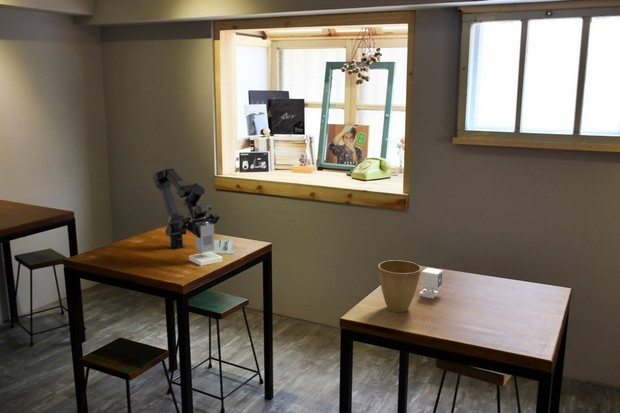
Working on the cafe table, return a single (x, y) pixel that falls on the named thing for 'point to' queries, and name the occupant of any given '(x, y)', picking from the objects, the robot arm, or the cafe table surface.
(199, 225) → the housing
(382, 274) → the plant pot
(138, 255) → the cafe table surface
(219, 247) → the metal bracket
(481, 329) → the cafe table surface
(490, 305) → the cafe table surface
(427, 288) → the security camera
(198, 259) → the plinth
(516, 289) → the cafe table surface
